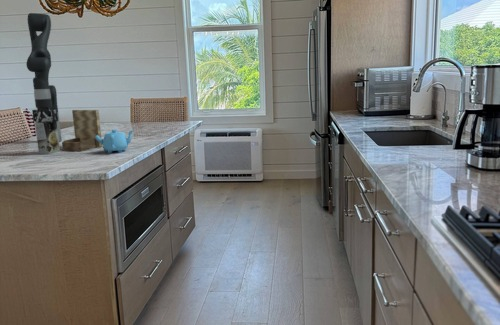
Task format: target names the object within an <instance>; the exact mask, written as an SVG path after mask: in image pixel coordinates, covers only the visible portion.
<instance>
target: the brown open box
mask: <svg viewBox="0 0 500 325" xmlns="http://www.w3.org/2000/svg"><path fill="white" fill-rule="evenodd" d="M61 143H62V144H61V145H62V151H67V152H69V151H70V152H83V151H88V150H92V149H95V148H98V147H97V145H96V139H95V138H93V139H89V140H84V141H80V138H75V137H74V138H70V139H66V140H62V141H61Z"/></svg>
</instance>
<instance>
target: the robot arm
mask: <svg viewBox="0 0 500 325" xmlns="http://www.w3.org/2000/svg"><path fill="white" fill-rule="evenodd" d="M27 26H28V32H29V36H30V44H31V52H30V54H29V56H28V57H27V60H26V65H25V66H26V68H27V70H28V71H29V72H31V73H34V77H33V79H32V84H33V96H34V104H35V105H34V106H35V108H36V109H32V112H31V114H32V121H33V122H34V123H36V122H43V121H50V122H51V123H50V124H51V130H55V129H56V125H55V122H57V129H58V138H59V142H63V140H62V131H61V130H62V129H61V125H60V116H59V109H58V108H59V106H58V98H57V88H56V86H55V85H54V84H51V85H50V84H49V74H50V69H51V68H52V60H51V59H52V58H51V53H50V52H49V49H48V42H49V39H50V34H51V30H52V19H51V16H50V15H49V14H46V13H36V12H35V13H34V12H30V13H28V15H27ZM37 32H40V33H39V35H38V33H37Z"/></svg>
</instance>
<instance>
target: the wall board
mask: <svg viewBox="0 0 500 325" xmlns="http://www.w3.org/2000/svg"><path fill="white" fill-rule="evenodd" d="M71 112H72V120H73V129H74V130H73V131H74V138H80V141H84V140H89V139H93V138H95V137H96V136H97V135H98V136H99V137H100V138H101V139H102V131H101V121H100V113H99V109H72V110H71ZM96 145H97V147H96V148H103V145H102V144H101V143H100V142H99V141H98V140H96Z"/></svg>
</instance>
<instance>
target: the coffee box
mask: <svg viewBox="0 0 500 325" xmlns="http://www.w3.org/2000/svg"><path fill="white" fill-rule="evenodd" d="M50 123H51V122H50V121H43V122H34V124H35V125H34V126H35V133H36V140H37V141H36V142H37V149H38V154H39V155H50V154H54V153H58V152H60V151H61V147H60V146H61V145H60V141H59V138H58V129H57V122H55V125H56V129H55V130H51V124H50Z"/></svg>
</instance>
